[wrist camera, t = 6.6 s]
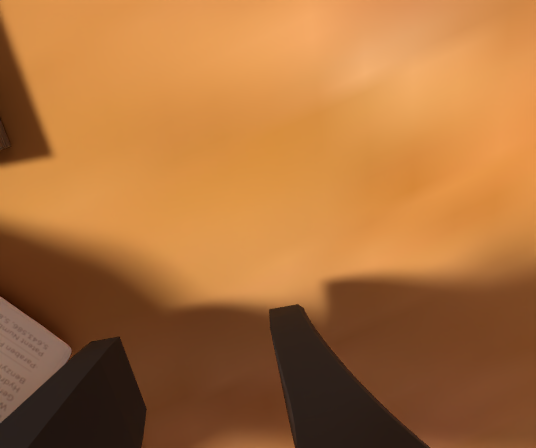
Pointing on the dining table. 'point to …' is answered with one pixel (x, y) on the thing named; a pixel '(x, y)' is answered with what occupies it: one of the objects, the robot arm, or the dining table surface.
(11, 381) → the skincare box
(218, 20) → the dining table surface
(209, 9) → the dining table surface
